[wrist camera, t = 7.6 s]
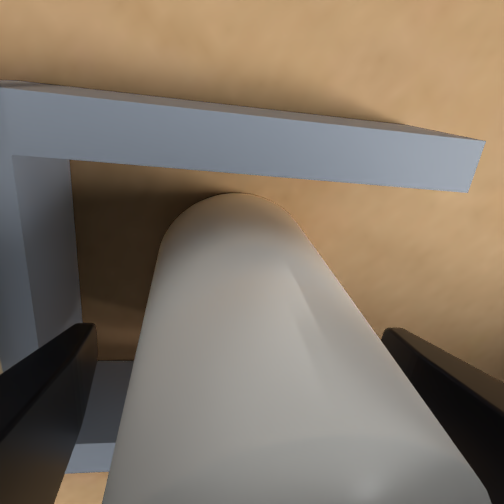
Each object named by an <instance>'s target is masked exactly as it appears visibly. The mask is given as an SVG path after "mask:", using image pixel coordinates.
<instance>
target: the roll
mask: <svg viewBox="0 0 504 504" xmlns="http://www.w3.org/2000/svg"><path fill="white" fill-rule="evenodd" d="M102 504H492V503H491V500H490V498H489V495H488V492H487V490H486V488H485V487H484V485H483V484H482V482H481V481H480V479H479V478H478V476H477V475H476V474H475V472H474V471H473V469H472V468H471V467H470V465H469V464H468V462H467V461H466V460H465V458H464V457H463V455H462V454H461V452H460V451H459V450H458V448H457V447H456V445H455V444H454V443H453V441H452V440H451V438H450V437H449V436H448V434H447V433H446V431H445V430H444V429H443V427H442V426H441V424H440V423H439V422H438V420H437V419H436V417H435V416H434V415H433V413H432V412H431V410H430V409H429V408H428V406H427V405H426V403H425V402H424V400H423V399H422V398H421V396H420V395H419V393H418V392H417V391H416V389H415V388H414V386H413V385H412V384H411V382H410V381H409V379H408V378H407V377H406V375H405V374H404V372H403V371H402V370H401V368H400V367H399V365H398V364H397V363H396V361H395V360H394V358H393V357H392V356H391V354H390V353H389V351H388V350H387V348H386V347H385V346H384V344H383V343H382V341H381V340H380V339H379V337H378V336H377V334H376V333H375V332H374V330H373V329H372V327H371V326H370V325H369V323H368V322H367V320H366V319H365V318H364V316H363V315H362V313H361V312H360V311H359V309H358V308H357V306H356V305H355V303H354V302H353V301H352V299H351V298H350V296H349V295H348V294H347V292H346V291H345V289H344V288H343V287H342V285H341V284H340V282H339V281H338V280H337V278H336V277H335V275H334V274H333V273H332V271H331V270H330V268H329V267H328V266H327V264H326V263H325V261H324V260H323V259H322V257H321V256H320V254H319V253H318V251H317V250H316V249H315V247H314V246H313V244H312V243H311V242H310V240H309V239H308V237H307V236H306V235H305V233H304V232H303V230H302V229H301V228H300V226H299V225H298V223H297V222H296V221H295V219H294V218H293V217H292V216H291V215H290V214H289V213H288V212H287V211H286V210H284V209H283V208H282V207H281V206H279V205H277V204H276V203H274V202H272V201H270V200H268V199H265V198H263V197H260V196H256V195H252V194H245V193H228V194H220V195H216V196H212V197H209V198H207V199H204V200H202V201H199V202H198V203H196V204H194V205H192V206H191V207H189V208H188V209H186V210H185V211H184V212H182V213H181V214H180V215H179V216H178V217H177V218H176V219H175V220H174V222H173V223H172V224H171V225H170V227H169V228H168V230H167V232H166V233H165V235H164V237H163V240H162V242H161V244H160V248H159V252H158V257H157V261H156V266H155V270H154V275H153V279H152V283H151V288H150V292H149V297H148V301H147V306H146V310H145V315H144V319H143V323H142V328H141V332H140V337H139V341H138V346H137V350H136V355H135V359H134V363H133V368H132V372H131V377H130V381H129V386H128V390H127V395H126V399H125V404H124V408H123V412H122V417H121V421H120V426H119V430H118V435H117V439H116V444H115V448H114V452H113V457H112V461H111V466H110V470H109V475H108V479H107V484H106V488H105V492H104V497H103V501H102Z"/></svg>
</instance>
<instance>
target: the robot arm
mask: <svg viewBox="0 0 504 504" xmlns="http://www.w3.org/2000/svg"><path fill="white" fill-rule="evenodd" d="M381 341H382V343H383V344H384V346H385V347H386V348H387V350H388V351H389V353H390V354H391V356H392V357H393V358H394V360H395V361H396V363H397V364H398V365H399V367H400V368H401V370H402V371H403V372H404V374H405V375H406V377H407V378H408V379H409V381H410V382H411V384H412V385H413V386H414V388H415V389H416V391H417V392H418V393H419V395H420V396H421V398H422V399H423V400H424V402H425V403H426V405H427V406H428V408H429V409H430V410H431V412H432V413H433V415H434V416H435V417H436V419H437V420H438V422H439V423H440V424H441V426H442V427H443V429H444V430H445V431H446V433H447V434H448V436H449V437H450V438H451V440H452V441H453V443H454V444H455V445H456V447H457V448H458V450H459V451H460V452H461V454H462V455H463V457H464V458H465V460H466V461H467V462H468V464H469V465H470V467H471V468H472V469H473V471H474V472H475V474H476V475H477V476H478V478H479V479H480V481H481V482H482V484H483V485H484V487H485V488H486V490H487V492H488V495H489V498H490V500H491V503H492V504H504V383H503V382H501V381H499V380H497V379H495V378H493V377H492V376H490V375H488V374H486V373H484V372H482V371H480V370H479V369H477V368H475V367H473V366H471V365H469V364H468V363H466V362H464V361H462V360H460V359H458V358H457V357H455V356H453V355H451V354H449V353H447V352H445V351H444V350H442V349H440V348H438V347H436V346H434V345H433V344H431V343H429V342H427V341H425V340H423V339H421V338H420V337H418V336H416V335H414V334H412V333H410V332H409V331H407V330H405V329H403V328H387V329H385V331H384V333H383V336H382V339H381ZM97 358H98V347H97V332H96V326H95V324H93V323H76V324H74V325H72V326H71V327H69V328H68V329H66V330H65V331H63V332H62V333H61V334H59V335H58V336H56V337H55V338H53V339H52V340H50V341H49V342H47V343H46V344H44V345H43V346H41V347H40V348H38V349H37V350H35V351H34V352H33V353H31V354H30V355H28V356H27V357H25V358H24V359H22V360H21V361H19V362H18V363H16V364H15V365H13V366H12V367H10V368H9V369H7V370H6V371H5V372H3V373H2V374H0V504H54V502H55V499H56V496H57V493H58V491H59V488H60V485H61V482H62V480H63V477H64V474H65V471H66V469H67V466H68V463H69V460H70V458H71V455H72V452H73V449H74V447H75V444H76V441H77V438H78V435H79V433H80V430H81V426H82V423H83V420H84V416H85V412H86V407H87V403H88V399H89V394H90V390H91V386H92V381H93V377H94V373H95V369H96V364H97Z"/></svg>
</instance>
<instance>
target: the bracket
mask: <svg viewBox="0 0 504 504" xmlns="http://www.w3.org/2000/svg"><path fill="white" fill-rule="evenodd" d="M485 142H486V141H482V140H478V139H473V138H468V137H463V136H458V135H453V134H448V133H443V132H439V131H434V130H429V129H424V128H419V127H414V126H409V125H402V124H393V123H385V122H376V121H367V120H358V119H350V118H341V117H332V116H323V115H315V114H306V113H297V112H288V111H280V110H271V109H262V108H253V107H245V106H236V105H227V104H218V103H210V102H201V101H192V100H183V99H175V98H166V97H157V96H148V95H139V94H131V93H122V92H113V91H104V90H96V89H87V88H78V87H69V86H61V85H52V84H43V83H34V82H26V81H17V80H0V374H2V373H3V372H5V371H6V370H7V369H9V368H10V367H12V366H13V365H15V364H16V363H18V362H19V361H21V360H22V359H24V358H25V357H27V356H28V355H30V354H31V353H33V352H34V351H35V350H37V349H38V348H40V347H41V346H43V345H44V344H46V343H47V342H49V341H50V340H52V339H53V338H55V337H56V336H58V335H59V334H61V333H62V332H63V331H65V330H66V329H68V328H69V327H71V326H72V325H74V324H76V323H83V321H82V308H81V296H80V284H79V271H78V259H77V247H76V234H75V222H74V210H73V198H72V185H71V173H70V161H69V160H81V161H93V162H105V163H117V164H129V165H141V166H153V167H165V168H177V169H189V170H201V171H213V172H225V173H237V174H249V175H261V176H273V177H285V178H297V179H309V180H321V181H333V182H345V183H357V184H369V185H381V186H393V187H405V188H417V189H429V190H441V191H453V192H465V193H468V191H469V188H470V185H471V182H472V179H473V176H474V174H475V171H476V168H477V165H478V162H479V159H480V156H481V153H482V151H483V148H484V145H485ZM133 363H134V361H97V364H96V369H95V373H94V377H93V381H92V386H91V390H90V394H89V399H88V403H87V407H86V412H85V416H84V420H83V423H82V426H81V430H80V433H79V435H78V438H77V441H76V444H75V447H74V449H73V452H72V455H71V458H70V460H69V463H68V466H67V469H66V471H65V474H67V473H88V472H109V470H110V466H111V461H112V457H113V452H114V448H115V444H116V439H117V435H118V430H119V426H120V421H121V417H122V412H123V408H124V404H125V399H126V395H127V390H128V386H129V381H130V377H131V372H132V368H133Z"/></svg>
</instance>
